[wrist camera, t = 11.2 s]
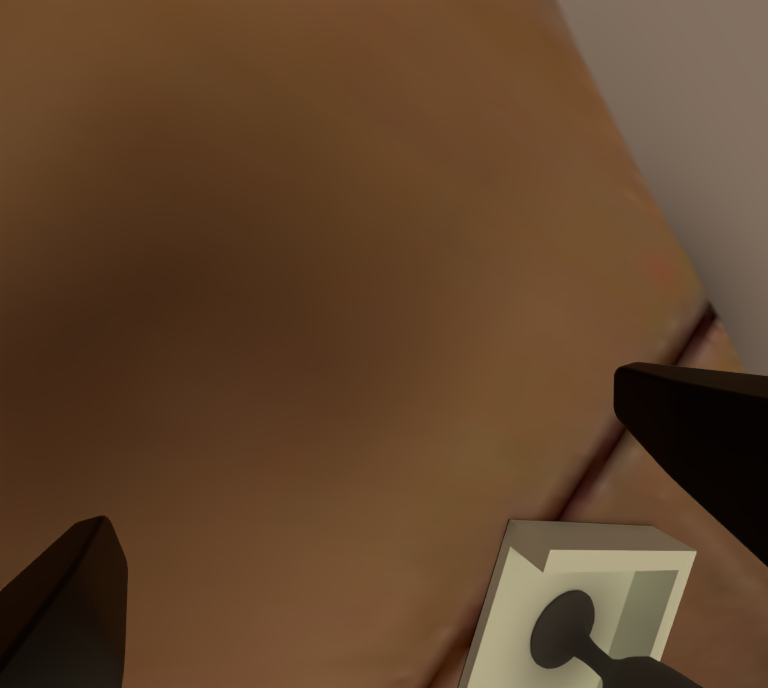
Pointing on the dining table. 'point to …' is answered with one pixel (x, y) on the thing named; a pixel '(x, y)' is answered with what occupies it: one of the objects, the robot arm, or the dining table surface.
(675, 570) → the end cap
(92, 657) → the robot arm
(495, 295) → the dining table surface
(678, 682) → the sundae
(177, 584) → the dining table surface
